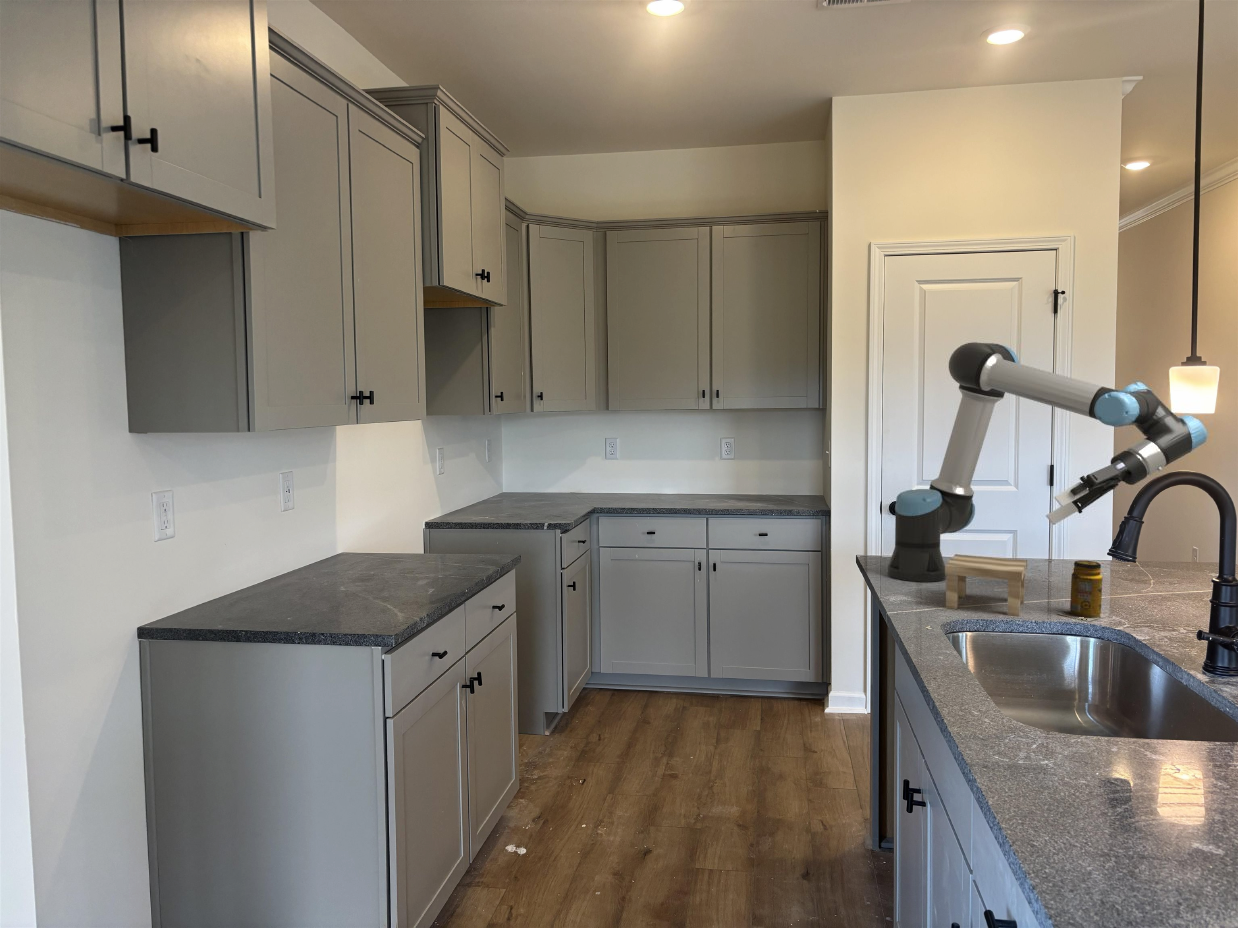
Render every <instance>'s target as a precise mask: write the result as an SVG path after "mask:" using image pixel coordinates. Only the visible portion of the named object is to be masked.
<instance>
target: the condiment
mask: <svg viewBox="0 0 1238 928" xmlns="http://www.w3.org/2000/svg"><path fill="white" fill-rule="evenodd" d="M1101 568H1102V565H1101V563H1100V562H1097V561H1094V560H1075V561H1074V563H1073V569H1072V571H1073V572H1072V573H1071V580H1070V581H1071V582H1070V602H1069V603H1070V604H1069V610H1065V611H1060V612H1057V613H1056V614H1057V615H1060V616H1065V617H1067V618H1073V619H1075V618H1076V619H1078V620H1081V619H1083V620H1082V621H1087V622H1091V621H1094V620H1099V619H1103V618H1106V617H1109V614H1105V613H1104V614H1103V613H1102V600H1103V599H1102V595H1103V593H1102V591H1103V576H1102V569H1101ZM1079 617H1084V618H1079ZM1099 617H1101V618H1099ZM1088 618H1089V619H1088ZM1086 619H1087V620H1086Z"/></svg>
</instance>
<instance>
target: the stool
mask: <svg viewBox="0 0 1238 928" xmlns="http://www.w3.org/2000/svg"><path fill="white" fill-rule="evenodd" d="M1027 569H1028V560H1027V559H1019V558H1018V559H1017V558H1005V557H1004V558H1003V557H994V556H982V555H981V556H980V555H979V556H978V555H968V554H957V553H954V555H953V556H952V557H951V559H950V560H949V561H948V562H947V563H945V574H946V579H945V581H946V583H945V585H946V586H945V587H946V588H945V609H951V610H952V609H954V610H958V608H959V598H966V595H967V577H971V578H973V577H974V578H982V579H983V578H985V579H993V580H1005V581H1007V609H1006V613H1007V615H1008V616H1015V617H1020V615H1021V604H1022V605H1023V604H1024V603H1025V593H1026V592H1025V590H1026V589H1025V586H1026V571H1027Z"/></svg>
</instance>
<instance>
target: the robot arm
mask: <svg viewBox="0 0 1238 928" xmlns="http://www.w3.org/2000/svg"><path fill="white" fill-rule="evenodd" d="M948 372H949V374H950V376H951V378H952V379H953V380H954V381H955V382H956V383H958V384H959V386H958V390H959V392H960V394H961V398H960V402H959V406H958V409H957V413H956V416H955V420H954V422H953V427H952V429H951V433H950V437H949V441H948V443H947V446H946V450H945V454H944V458H943V460H942V464H941V467H940V471H939V474H938V477H937V478H935V479H933V480H931V481H930V484H929V488H917V489H909V490H904V491H901V492H900V493H899V494H897V496H896V499H895V500H896V501H895V505H894V506H895V507H894V511H895V519H894V520H895V523H894V524H895V527H894V529H895V530H894V532H895V533H894V534H895V535H894V536H895V537H894V539H895V540H894V549H893V551H892V555H891V557H890V560H889V563H888V566H887V575H888V576H889V577H891V578H893V579H898V580H903V581H909V582H922V583H923V582H927V583H929V582H940V581H945V580H946V578H947V574H945V565H946V563H945V561H944V559H943V558H944V557H943V555H942V551H941V535H943V534H954V533H957V532H960V531H961V530H963V529H965V528H967V527H968V526H969V525H970V524H971V522H973V520H974V518H975V515H976V506H975V503H974V501H973V498H974V495H975V494H974V493H975V492H974V490H973V488H972V487H971V484H972V482H973V478H974V474H975V471H976V467H977V465H978V461H979V459H980V455H981V452H982V448H983V445H984V441H985V438H986V435H987V432H988V428H989V425H990V422H991V419H992V417H993V413H994V410H995V409H994V408H995V405H996V403H998V402H999V401H1001V400H1003V399H1004V397H1005V394H1006V393H1007V394H1010V395H1014V396H1016V397H1021V398H1024V399H1027V400H1030V401H1033V402H1037V403H1041V404H1043V405H1048V406H1050V407H1054V408H1058V409H1061V410H1065V411H1068V412H1070V413H1074V414H1079V415H1081V416H1085V417H1089V418H1091V419H1094V420H1097V421H1099V422H1101V424H1104V425H1106V426H1110V427H1114V428H1118V427H1119V428H1120V427H1121V428H1122V427H1124V426H1134V427H1135V428H1137V429H1138V430H1139V432H1141V434H1142V435H1144V437H1145V438H1143V439H1141V440H1139V441H1138V442H1136V443H1135V444H1132V445H1131V446H1129V447H1128V448H1127V449H1126V450H1123V451H1121V452H1119V453H1117V454H1116V455H1114V456H1113V457H1111V459H1110V464H1109V465H1107V466H1105V467H1103V468H1100V469H1098V470H1096V471H1094V472H1091V473H1088V474H1087V475H1086V476H1085V475H1082V476H1081V477H1079V480H1080V481H1079V482H1077V483H1076V484H1074V485H1072V486H1071V487H1069V488H1067V489H1064V491H1061V492H1060V493H1059V494H1057V495H1055V496H1053V499H1055V501H1056V502H1057V503H1058V504H1059V507H1058V508H1056V509H1055V510H1053V511H1051V512H1049V513H1048V514H1046V515H1045V517H1046V518H1047V519H1048V521H1049V522H1050V523H1051V524H1052V525H1053V526H1054V525H1056V524H1058V523H1060V522H1061V521H1063V520H1065V519H1066V518H1068V517H1070V516H1071V515H1073V514H1075V513H1078V514H1083V510H1085V509H1086V508H1087V507H1089V506H1091V504H1093V503H1094V502H1096V501H1097V500H1099V499H1100V498H1102V497H1103V496H1105V495H1107V494H1108V493H1109V492H1111V491H1113V490H1115V489H1116V488H1117V487H1118V486H1119V484H1120V483H1121V482H1123V483H1125V484H1126V485H1130V486H1133V485H1136V484H1137V483H1140V482H1141V481H1143V480H1145V479H1146V478H1147V476H1150V475H1153V474H1154V473H1156V472H1157V471H1158V472H1159V473H1161V472H1163V470H1164V469H1163V468H1164V467H1167V466H1168V465H1170V464H1171V463H1173V462H1174V463H1175V462H1176V461H1177V460H1179V459H1180V458H1182V457H1184V456H1186V455H1188V454H1190V453H1192V451H1194V450H1195V449H1197V448H1198V447H1200V446H1202V445H1203V444H1205V443H1206V442H1207V439H1208V432H1207V430H1206V428H1205V425H1204V424H1203V423H1202V422H1201V421H1200V420H1199V419H1198V418H1195V417H1194V416H1192V415H1189V414H1186V415H1182V416H1180V417H1178V415H1176V414H1175V413H1174V412H1172V411H1171V409H1170V408H1169V407H1168V406H1166V404H1165V403H1163V401H1161V399H1159V397H1158V396H1157V395H1155V393H1154V392H1153V390H1152V389H1150V388H1149V387H1147V385H1145V384H1144V382H1143V383H1142V382H1141V381H1137V382H1133V383H1131V384H1129V385H1127V386H1125V387H1124V388H1123V389H1121V390H1118V389H1114V388H1110V387H1105V386H1102V385H1099V384H1095V383H1091V382H1088V381H1084V380H1080V379H1076V378H1073V377H1069V376H1065V375H1062V374H1058V373H1056V372H1050V371H1047V370H1044V369H1040V368H1036V367H1033V366H1028V365H1025V364H1021V363H1020V361H1019V358H1018V356H1017V354H1016V353H1015V351H1014V350H1012V348H1010V347H1009V346H1006V345H1003V344H999V343H993V342H991V343H990V342H977V341H975V342H974V341H973V342H967V343H964V344H962V345H960V346H958V347H957V348H956V349H955V350H954V351H953V352H952V354H950V358H949V360H948Z"/></svg>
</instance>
